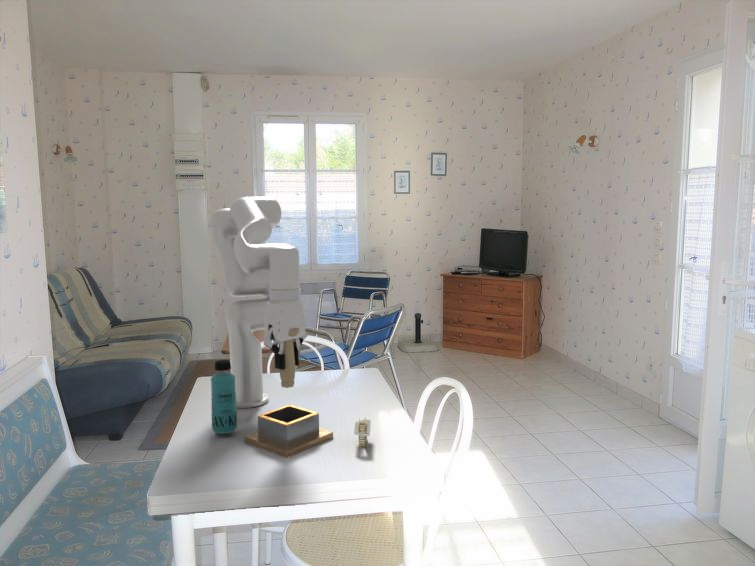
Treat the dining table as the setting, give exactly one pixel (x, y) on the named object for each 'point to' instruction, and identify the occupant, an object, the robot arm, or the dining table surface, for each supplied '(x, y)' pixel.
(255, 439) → the sleeve
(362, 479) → the dining table surface
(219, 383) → the beverage bottle
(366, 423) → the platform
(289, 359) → the handle
